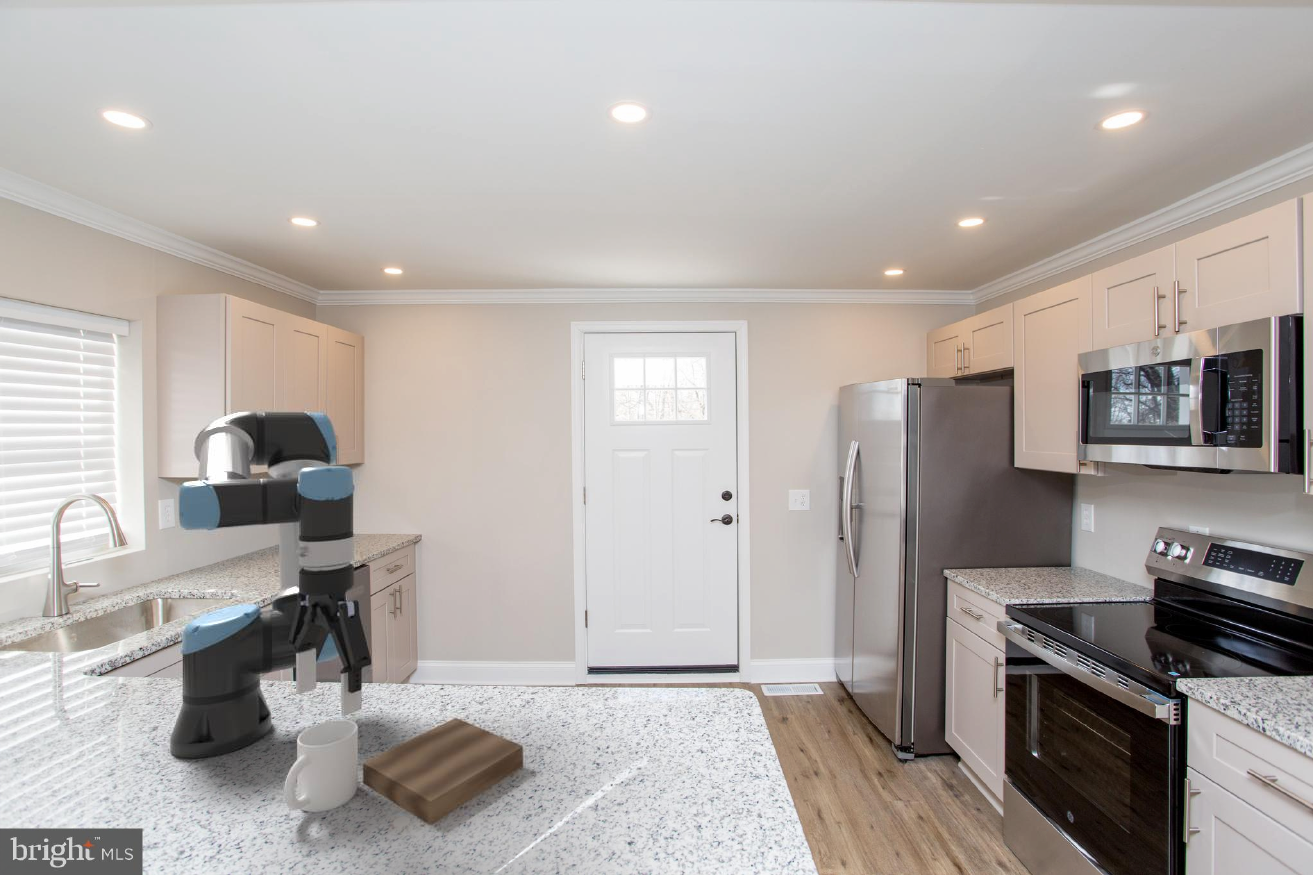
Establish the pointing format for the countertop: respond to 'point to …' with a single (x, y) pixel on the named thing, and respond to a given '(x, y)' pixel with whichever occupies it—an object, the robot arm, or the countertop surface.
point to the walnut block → (442, 768)
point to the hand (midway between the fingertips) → (328, 701)
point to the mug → (324, 767)
